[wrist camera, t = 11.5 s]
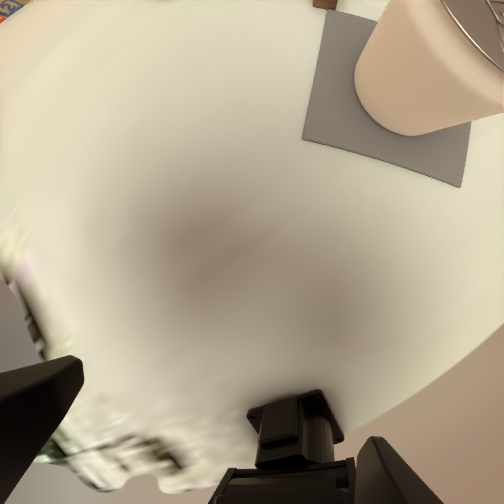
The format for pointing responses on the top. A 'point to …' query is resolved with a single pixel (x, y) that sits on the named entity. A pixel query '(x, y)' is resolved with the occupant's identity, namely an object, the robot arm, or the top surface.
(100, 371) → the top surface
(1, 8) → the stack of blocks
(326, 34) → the mat
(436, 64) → the can
